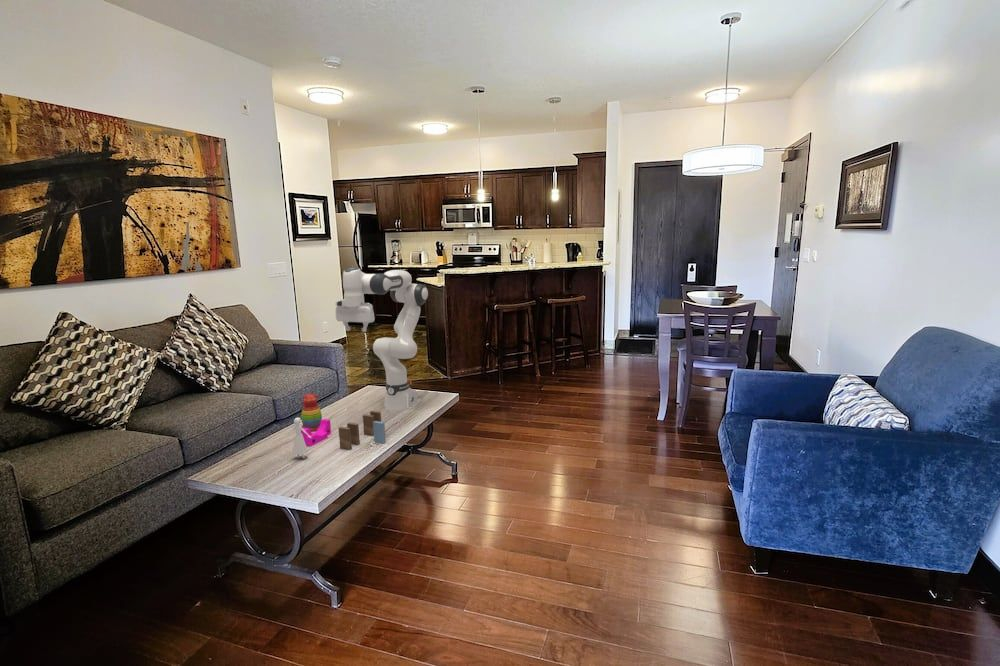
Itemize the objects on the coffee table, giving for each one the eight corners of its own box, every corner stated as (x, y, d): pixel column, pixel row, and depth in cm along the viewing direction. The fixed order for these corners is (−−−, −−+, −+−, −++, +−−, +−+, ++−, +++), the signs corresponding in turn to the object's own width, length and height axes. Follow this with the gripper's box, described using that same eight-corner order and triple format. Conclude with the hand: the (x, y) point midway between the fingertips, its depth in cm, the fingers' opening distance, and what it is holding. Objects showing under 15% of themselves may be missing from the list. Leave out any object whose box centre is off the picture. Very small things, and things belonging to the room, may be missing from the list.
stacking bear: (325, 424, 240) (322, 390, 237) (323, 431, 230) (320, 396, 227) (302, 426, 237) (299, 392, 234) (299, 434, 228) (296, 398, 225)
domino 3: (366, 434, 226) (364, 414, 224) (374, 435, 224) (373, 415, 222) (364, 435, 224) (362, 415, 223) (372, 437, 222) (371, 416, 221)
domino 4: (373, 430, 231) (372, 410, 229) (381, 431, 229) (380, 411, 227) (371, 431, 229) (370, 411, 228) (379, 432, 227) (378, 413, 226)
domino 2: (350, 443, 216) (349, 422, 214) (359, 444, 214) (358, 423, 212) (348, 444, 214) (346, 423, 213) (357, 446, 212) (356, 424, 211)
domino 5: (376, 441, 217) (375, 420, 215) (385, 443, 215) (384, 422, 213) (374, 443, 216) (372, 422, 214) (383, 444, 214) (382, 423, 212)
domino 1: (342, 447, 211) (341, 426, 209) (351, 449, 209) (350, 428, 207) (340, 449, 209) (338, 427, 207) (349, 451, 207) (347, 429, 206)
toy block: (310, 447, 212) (309, 431, 211) (300, 445, 215) (299, 429, 214) (335, 435, 226) (334, 420, 224) (325, 433, 228) (324, 418, 227)
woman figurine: (316, 456, 202) (313, 416, 199) (310, 461, 198) (306, 420, 195) (292, 455, 204) (288, 415, 201) (285, 459, 200) (281, 418, 197)
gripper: (376, 302, 223) (378, 331, 225) (341, 301, 231) (343, 329, 233) (368, 303, 217) (369, 333, 220) (332, 302, 225) (334, 331, 227)
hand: (356, 331), depth 226 cm, fingers open, 8 cm apart
